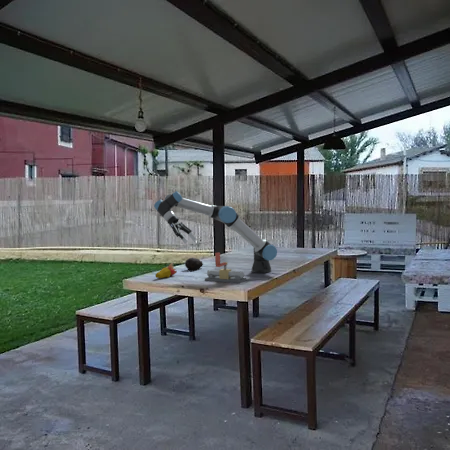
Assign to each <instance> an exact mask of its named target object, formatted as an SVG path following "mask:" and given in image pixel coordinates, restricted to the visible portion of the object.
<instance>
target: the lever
mask: <svg viewBox="0 0 450 450" xmlns="http://www.w3.org/2000/svg"><path fill="white" fill-rule="evenodd" d="M214 255H215V258H214V259H215V267H216V268H220V267H224V265H228V263H229V262H227V261H223V262H221V252H215V253H214Z"/></svg>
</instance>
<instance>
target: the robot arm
mask: <svg viewBox="0 0 450 450" xmlns="http://www.w3.org/2000/svg"><path fill="white" fill-rule="evenodd" d="M153 207H154V209H155V211H156V212H158V213H159V214H160V216H161V217H162V218H163V219H164V221H166V222H167V224H168V226H170V228H171V229H172V231H173V233H174V234H175V236H176V238H178V237H179V239H180V240H181V241H182V242H183V243H184V244H187V242H188V241H189V240H188V238H186V236H184V234H183V233H181V231H182V232H184V233H185V234H187V235H188V237H189V238H190V239H191V240H192V241H193V242H196V241H197V237H196V236H195V235H194V234H193V230H192V229H190V228H189V227H187V226H186V224H184V223H183V222H182V221H181V222H180V221H179V220H180V218H178V216H177V215H176V214H175V213H174V212H173V211H172V209H173V208H174V207H177V208H179V209H180V208H181V209H184V210H188V211H191V212H195V213H198V214H202V215H205V216H208V217H209V218H212V219H214V220H215V221H219V222H221V223H223V224H224V225H225V226H226V227H227V228H232V229H233V230H234V231H235V232H236V233H237V234H238V235H239V236H240V237H242V239H244V240H245V241H246V242H247V243H249V244H250V246H251V247H253V262H252V266H251V272H252V273H263V274H264V273H265V274H266V273H271V272H272V266H271V263H270V261H272V260H274V259H275V258H276V257H277V254H278V249H277V247H276V246H274V245H273V244H271V243H270V242H269V240H267V239H266V238H265V239H262V237H260V236H259V235H258V234H257V233H256V232H255V231H254V230H253V229H251V227H249V226H248V224H246V223H245V222H244V221H243V220H241V218H240V215H239V214H238V212H237V211H236V210H235V209H234V207H232V206H229V205H216V204H215V205H214V204H211V205H210V204H207V203H202V202H200V201H195V200H191V199H188V198H185V197H182V195H181V193H180V192H178V191H174V192H172V193H171V194H167V195H166V196H165V198H164V200H163V199H159V200H157V201H155V203H154V205H153Z"/></svg>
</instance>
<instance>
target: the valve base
mask: <svg viewBox="0 0 450 450" xmlns="http://www.w3.org/2000/svg"><path fill="white" fill-rule="evenodd" d="M227 265H228V264H227ZM227 265H224V266H223V268H221V269H219V270H213V269H211V270H210V269H209V270H207V272H206V274H207V276H208V277H204V281H205V282H218V283H219V282H220V283H233V284H235V283H237V284H241V283H243V282H245V281H247V277H245V273H244V271H236V270H235V271H232V269H231V268H228V267H227Z"/></svg>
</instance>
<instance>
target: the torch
mask: <svg viewBox="0 0 450 450" xmlns="http://www.w3.org/2000/svg"><path fill="white" fill-rule="evenodd" d="M174 267H175V265H174V262H171V263H170V264H169V265H167V266H166V267H163V268H162V269H161V270H159V271H158V272H156V273H155V278H157V279H164V278H170V277H171V276H174V275H175V274H177V273H178V272H177V268H174Z"/></svg>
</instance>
